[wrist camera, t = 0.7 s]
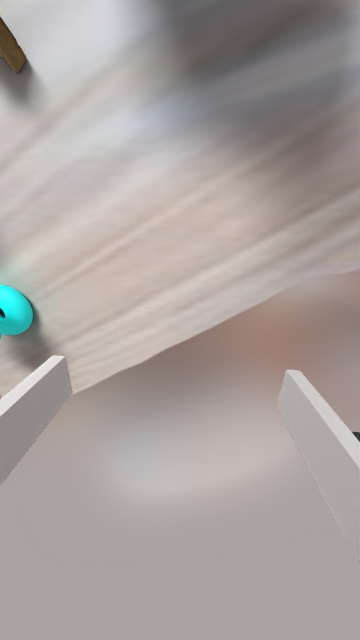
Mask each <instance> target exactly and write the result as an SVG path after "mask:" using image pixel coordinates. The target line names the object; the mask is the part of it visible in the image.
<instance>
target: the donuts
mask: <svg viewBox="0 0 360 640" xmlns="http://www.w3.org/2000/svg"><path fill="white" fill-rule="evenodd" d="M0 308H1V309H2V310H3V312H4V313H5V317H3V316H2V315H1V314H0V339H1V336H2V334H4V335H17V334H20V333H22V332H24V331H26V330H27V329H28V328H29V327H30V325H31V323H32V320H33V311H32V308H31V305H30V303H29V302H28V300H27V299H26V298H25V297H24V296H23V295H22V294H21V293H20V292H19V291H17V290H15V289H14V288H11V287H9V286H5V285H0Z"/></svg>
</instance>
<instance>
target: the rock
mask: <svg viewBox="0 0 360 640" xmlns="http://www.w3.org/2000/svg"><path fill="white" fill-rule="evenodd" d="M0 57H1V58H3V59H4V60H5V61H6V63H7V64H8V65H9V67H10V68H11V69H12V70H14V71H15V72H18V71H19V70H20V69H21V67H22V66H23V65H24V64H25V61H26V56H25V54H24V52H23V51H22V49H21V47H20V46H19V45H18V43H17V41H16V39H15V37H14V36H13V34H12V33H11V31H10V30H9V28H8V27H7V25H6V24H5V23H4V21H3V20H2V18H1V17H0Z"/></svg>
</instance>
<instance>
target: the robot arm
mask: <svg viewBox="0 0 360 640" xmlns="http://www.w3.org/2000/svg"><path fill="white" fill-rule="evenodd" d="M72 393H73V391H72V386H71V381H70V376H69V371H68V366H67V362H66V357H65V356H56V355H53V356H52V357H50V358H49V359H48V360H47V361H46V362H44V363H43V364H42V365H41V366H40V367H38V368H37V369H36V370H35V371H34V372H32V373H31V374H30V375H29V376H28V377H26V378H25V379H24V380H23V381H22V382H21V383H19V384H18V385H17V386H16V387H15V388H13V389H12V390H11V391H10V392H9V393H7V394H6V395H5V396H4V397H3V398H2V399H0V486H1V484H2V483H3V482H4V481H5V479H6V478H7V477H8V475H9V474H10V473H11V471H12V470H13V469H14V468H15V466H16V465H17V464H18V462H19V461H20V460H21V458H22V457H23V456H24V455H25V453H26V452H27V451H28V450H29V448H30V447H31V446H32V444H33V443H34V442H35V440H36V439H37V438H38V436H39V435H40V434H41V433H42V431H43V430H44V429H45V428H46V426H47V425H48V423H49V422H50V421H51V420H52V419H53V417H54V416H55V415H56V413H57V412H58V411H59V409H60V408H61V407H62V406H63V404H64V403H65V402H66V400H67V399H68V398H69V397H70V395H71V394H72ZM276 407H277V409H278V411H279V413H280V415H281V416H282V418H283V421H284V422H285V424H286V426H287V428H288V430H289V432H290V434H291V436H292V438H293V440H294V442H295V444H296V446H297V448H298V450H299V451H300V453H301V455H302V457H303V459H304V461H305V463H306V465H307V467H308V469H309V471H310V473H311V474H312V476H313V479H314V480H315V482H316V484H317V486H318V488H319V490H320V492H321V494H322V496H323V498H324V500H325V502H326V504H327V506H328V508H329V509H330V511H331V513H332V515H333V517H334V519H335V521H336V522H337V525H338V527H339V529H340V531H341V533H342V534H343V537H344V538H345V540H346V542H347V544H348V546H349V548H350V550H351V552H352V554H353V556H354V558H355V560H356V562H360V433H359V432H351V431H350V430H349V429H348V427H347V426H346V425H345V424H344V423H343V422H342V420H341V419H340V418H339V417H338V416H337V414H336V413H335V412H334V411H333V410H332V409H331V408H330V406H329V405H328V404H327V402H326V401H325V400H324V399H323V398H322V397H321V395H320V394H319V393H318V392H317V391H316V389H315V388H314V387H313V386H312V385H311V383H310V382H309V381H308V380H307V379H306V378H305V376H304V375H303V374H302V373H301V372H300V371H299V370H286V372H285V376H284V379H283V383H282V387H281V390H280V393H279V397H278V400H277V404H276Z"/></svg>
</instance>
